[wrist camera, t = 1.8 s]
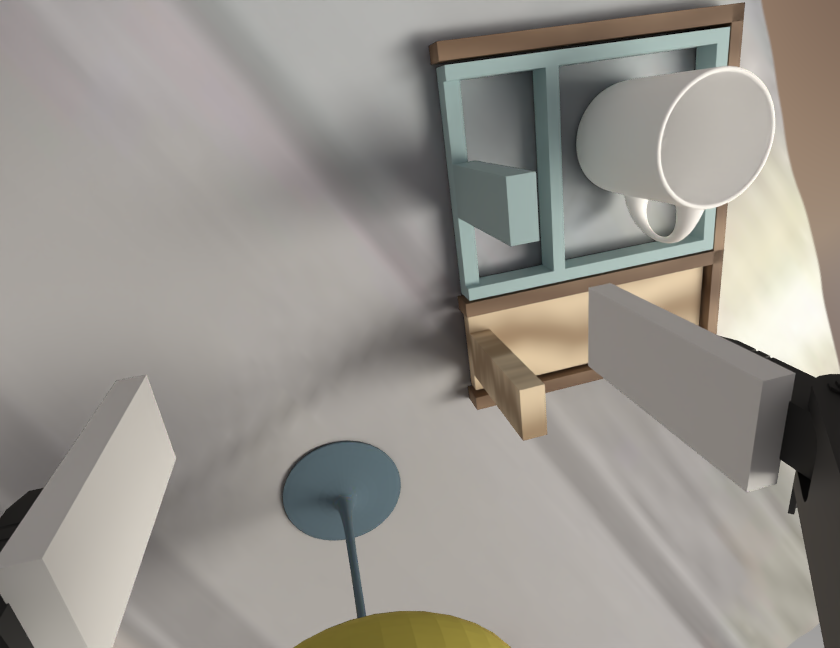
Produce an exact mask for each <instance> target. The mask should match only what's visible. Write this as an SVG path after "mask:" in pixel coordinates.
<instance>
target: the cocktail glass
mask: <svg viewBox="0 0 840 648" xmlns="http://www.w3.org/2000/svg"><path fill="white" fill-rule="evenodd" d="M400 488H401V483H400V476H399V472H398V470H397V467H396V465H395V464H394V462H393V461H392V460H391V458H390V457H389V456H388V455H387V454H386V453H385V452H383V451H381V450H380V449H378V448H376V447H374V446H372V445H369V444H366V443H362V442H354V441H345V442H337V443H331V444H328V445H325V446H322V447H320V448H318V449H316V450H313V451H312V452H310V453H309V454H307V455H306V456H304V457H303V458H302V459H301V460H300V461H299V462H298V463H297V464H296V465H295V466H294V468H293V469H292V470H291V472H290V473H289V475H288V477H287V479H286V482H285V485H284V490H283V504H284V509H285V512H286V514H287V516H288V518H289V519H290V521H291V522H292V523H293V524H294V525H295V526H296V527H297V528H298V529H299V530H301V531H302V532H304V533H305V534H307V535H310V536H312V537H315V538H319V539H323V540H345V539H346V544H347V550H348V557H349V563H350V569H351V576H352V583H353V590H354V597H355V604H356V611H357V619H353V620H349V621H347V622H344V623H341V624H339V625H336V626H333V627H331V628H328V629H326V630H324V631H322V632H320V633H318V634H316V635H314V636H312V637H310V638H308V639H306V640H304V641H303V642H301V643H300V644H298V645H297V646H295V647H294V648H511V647H510V646H509V645H508V644H506V643H505V642H504V641H503V640H501V639H500V638H499V637H498V636H497V635H495V634H494V633H493V632H491V631H489V630H487V629H485V628H483V627H481V626H479V625H478V624H476V623H473V622H470V621H467V620H464V619H461V618H457V617H454V616H451V615H445V614H438V613H432V612H425V611H396V612H388V613H379V614H373V615H369V616H366V612H365V605H364V599H363V593H362V587H361V580H360V573H359V567H358V560H357V553H356V545H355V538H354V537H358V536H361V535H363V534H365V533H367V532H369V531H371V530H373V529H374V528H376V527H377V526H378V525H380V524H381V523H382V522H383V521H384V520H385V519H386V518H387V517H388V516H389V515H390V513H391V512H392V511H393V509H394V507H395V506H396V504H397V501H398V498H399V495H400Z"/></svg>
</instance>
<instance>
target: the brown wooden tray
mask: <svg viewBox="0 0 840 648" xmlns="http://www.w3.org/2000/svg"><path fill="white" fill-rule="evenodd" d="M744 8H745V2H744V3H736V4H729V5H721V6H713V7H705V8H697V9H689V10H681V11H673V12H665V13H658V14H650V15H642V16H634V17H626V18H618V19H610V20H602V21H594V22H586V23H579V24H571V25H563V26H555V27H547V28H539V29H531V30H523V31H515V32H508V33H500V34H492V35H484V36H476V37H468V38H460V39H452V40H444V41H437V42H435V43H433V44H432V45H430V46H429V52H430V60H431V65H432V64H440V63H447V62H455V61H462V60H470V59H477V58H485V57H492V56H499V55H507V54H514V53H522V52H529V51H537V50H544V49H552V48H559V47H567V46H574V45H582V44H589V43H596V42H604V41H611V40H619V39H626V38H634V37H641V36H649V35H656V34H664V33H671V32H679V31H686V30H694V29H701V28H708V27H711V28H710V29H717V28H724V27H730V35H729V48H728V61H727V66H736V67H739V66H740V55H741V43H742V31H743V20H744ZM727 206H728V203H726V204H724V205H721V206H719V207H716V215H715V227H714V240H713V249H711V250H706V251H701V252H697V253H692V254H687V255H683V256H678V257H673V258H669V259H664V260H659V261H654V262H650V263H645V264H640V265H636V266H631V267H626V268H622V269H617V270H612V271H607V272H603V273H598V274H593V275H589V276H584V277H579V278H575V279H570V280H565V281H560V282H556V283H551V284H546V285H542V286H537V287H532V288H528V289H523V290H518V291H514V292H509V293H504V294H499V295H495V296H490V297H485V298H481V299H476V300H471V301H469V300H468V299H467V298H466V297H465V296H464V295H462V296H458V303H459V310H460V311H461V312H462V313H463V314H464V315H465V316H466V317H467V318H469V317H474V316H478V315H483V314H488V313H492V312H497V311H501V310H506V309H511V308H515V307H520V306H524V305H529V304H533V303H538V302H543V301H547V300H552V299H556V298H561V297H565V296H570V295H575V294H579V293H584V292H588V291H589V287H594V286H599V285H604V284H609V283H611V284H613V285H615V286H616V285H620V284H625V283H630V282H634V281H639V280H643V279H648V278H653V277H657V276H662V275H666V274H671V273H675V272H680V271H685V270H689V269H694V268H698V267H703V275H702V289H701V303H700V317H699V326H700V327H702V328H704V329H706V330H708V331H710V332H712V333H714V334H716V333H717V322H718V310H719V298H720V287H721V275H722V264H723V252H724V240H725V229H726V217H727ZM536 376H537V377H538V378H539V379H540V380H541V381H542V382H543V383H544V384H545V393H547V392H551V391H555V390H559V389H563V388H567V387H571V386H575V385H579V384H583V383H587V382H591V381H595V380H599V379H603V377H602V376H600V375H599V374H598V373H597V372H595V371H594V370H593V369H592V368H590V367H589V366H588V363H586V364H582V365H578V366H574V367H569V368H565V369H561V370H557V371H553V372H549V373H545V374H541V375H536ZM468 390H469V398H470V400H471V401H472V403H473V404H474V406H475V407H476V409H477V410H479V409H483V408H487V407H491V406H495V405H496V404H495V402H494V401H493V400H492V398H491V397H490V396H489V394H488V393H487V392H486V390H485V389H484V388H483V389H479V390H475V388H474V387H473V386H469V387H468Z"/></svg>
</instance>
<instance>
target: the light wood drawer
mask: <svg viewBox="0 0 840 648" xmlns="http://www.w3.org/2000/svg"><path fill="white" fill-rule="evenodd" d="M702 275H703V267H698V268H694V269H689V270H685V271H680V272H675V273H671V274H666V275H662V276H657V277H653V278H648V279H643V280H639V281H634V282H630V283H625V284H620V285H616V286H617V287H620V288H622V289H624V290H626V291H628V292H630V293H632V294H634V295H636V296H638V297H640V298H642V299H644V300H646V301H648V302H650V303H652V304H654V305H657V306H659V307H661V308H663V309H665V310H667V311H669V312H671V313H673V314H675V315H677V316H679V317H681V318H683V319H685V320H687V321H689V322H692V323H694V324H696V325H698V326H699V317H700V303H701V289H702ZM588 301H589V291H588V292H584V293H579V294H575V295H570V296H565V297H561V298H556V299H552V300H547V301H543V302H538V303H533V304H529V305H524V306H520V307H515V308H511V309H506V310H501V311H497V312H492V313H488V314H483V315H478V316H474V317H469V318H467V317H466V316H465V315H464V321H465V330H466V339H467V348H468V357H469V365H470V374H471V383H472V385H473V387H474V388H475V390H479V389H483V388H484V389H485V390H486V392H487V393H488V394H489V396H490V397H491V398H492V400H493V401H494V402H495V404H496V405H497V406H498V408H499V409H500V410H501V412H502V413H503V414H504V416H505V417H506V418H507V420H508V421H509V422H510V424H511V425H512V426H513V428H514V429H515V430H516V432H517V433H518V434H519V436H520V437H521V438H522V440H523V441H524V440H528V439H532V438H535V437H539V436H543V435H547V420H546V400H545V384H544V383H543V382H542V381H541V380H540V379H539V378H538V377H537V376H536V375H541V374H545V373H549V372H553V371H557V370H561V369H565V368H569V367H574V366H578V365H582V364H586V363H588Z"/></svg>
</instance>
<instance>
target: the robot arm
mask: <svg viewBox="0 0 840 648" xmlns="http://www.w3.org/2000/svg"><path fill="white" fill-rule="evenodd" d="M588 366H589V367H590V368H592V369H593V370H594V371H595V372H597V373H598V374H599V375H600V376H602V377H603V378H604V379H605V380H607V381H608V382H609V383H610V384H612V385H613V386H614V387H615V388H617V389H618V390H619V391H620V392H622V393H623V394H624V395H625V396H627V397H628V398H629V399H630V400H632V401H633V402H634V403H635V404H637V405H638V406H639V407H640V408H642V409H643V410H644V411H645V412H647V413H648V414H649V415H650V416H652V417H653V418H654V419H655V420H657V421H658V422H659V423H660V424H662V425H663V426H664V427H665V428H667V429H668V430H669V431H670V432H672V433H673V434H674V435H676V436H677V437H678V438H679V439H681V440H682V441H683V442H684V443H686V444H687V445H688V446H689V447H691V448H692V449H693V450H694V451H696V452H697V453H698V454H699V455H701V456H702V457H703V458H704V459H706V460H707V461H708V462H709V463H711V464H712V465H713V466H714V467H716V468H717V469H718V470H719V471H721V472H722V473H723V474H724V475H726V476H727V477H728V478H729V479H731V480H732V481H733V482H734V483H736V484H737V485H738V486H739V487H741V488H742V489H743V490H744V491H746V492H750V491H753V490H757V489H760V488H764V487H767V486H770V485H774V484H777V478H778V473H779V467H780V461H781V460H782V461H783V462H785V463H786V464H788V465H789V466H791V467H792V468H794V469H795V470H796V473H795V478H794V483H793V489H792V494H791V499H790V505H789V510H788V513H790V514H794V513H795V509H796V508H798V513H799V518H800V523H801V528H802V534H803V539H804V544H805V549H806V554H807V559H808V565H809V570H810V575H811V580H812V585H813V591H814V596H815V601H816V606H817V611H818V616H819V622H820V626H821V632H822V637H823V642H824V647H825V648H840V374H828V375H822V376H819V377H817V378H815V377H813V376H811V375H809V374H807V373H805V372H803V371H801V370H798V369H796V368H794V367H792V366H790V365H788V364H786V363H784V362H782V361H780V360H777V359H775V358H770V356H769V355H767V354H765V353H763V352H761V351H756V349H754V348H752V347H750V346H748V345H746V344H744V343H742V342H740V341H737V340H733V339H729V338H725V337H722V336H718V335H716V334H714V333H712V332H710V331H708V330H706V329H704V328H702V327H700V326H698V325H696V324H694V323H692V322H689V321H687V320H685V319H683V318H681V317H679V316H677V315H675V314H673V313H671V312H669V311H667V310H665V309H663V308H661V307H659V306H657V305H654V304H652V303H650V302H648V301H646V300H644V299H642V298H640V297H638V296H636V295H634V294H632V293H630V292H628V291H626V290H624V289H622V288H620V287H617V286H615V285H613V284H611V283H609V284H604V285H599V286H594V287H589V301H588ZM175 460H176V457H175V454H174V451H173V448H172V445H171V442H170V440H169V437H168V434H167V431H166V428H165V425H164V423H163V420H162V417H161V414H160V411H159V408H158V406H157V403H156V400H155V397H154V394H153V391H152V388H151V386H150V383H149V380H148V377H147V375H142V376H137V377H132V378H127V379H122V380H117V381H116V382H115V383H114V385H113V386H112V388H111V389H110V391H109V392H108V394H107V395H106V397H105V398H104V400H103V401H102V403H101V404H100V406H99V407H98V409H97V410H96V412H95V413H94V415H93V416H92V418H91V419H90V420H89V422H88V423H87V425H86V426H85V428H84V429H83V431H82V432H81V434H80V435H79V437H78V438H77V440H76V441H75V443H74V444H73V446H72V447H71V449H70V450H69V452H68V453H67V455H66V456H65V458H64V459H63V460H62V462H61V463H60V465H59V466H58V468H57V469H56V471H55V472H54V474H53V475H52V477H51V478H50V480H49V481H48V483H47V484H46V486H45V487H44V488H41V489H36V490H32V491H29V492H27V493H26V494H25V495H24V496H23V497H21V498H20V499H19V500H18V501H16V502H15V503H14V504H13V505H12V506H10V507H9V508H8V509H7V510H6V511H5V512H4V514H3V515H2V516H1V518H0V648H112V647H113V644H114V641H115V638H116V635H117V632H118V629H119V626H120V624H121V621H122V618H123V615H124V612H125V609H126V606H127V603H128V600H129V597H130V594H131V591H132V588H133V585H134V582H135V579H136V576H137V573H138V570H139V567H140V564H141V561H142V558H143V555H144V552H145V549H146V546H147V543H148V540H149V537H150V535H151V532H152V529H153V526H154V523H155V520H156V517H157V514H158V511H159V508H160V505H161V502H162V499H163V496H164V493H165V490H166V487H167V484H168V481H169V478H170V475H171V472H172V469H173V466H174V463H175Z"/></svg>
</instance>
